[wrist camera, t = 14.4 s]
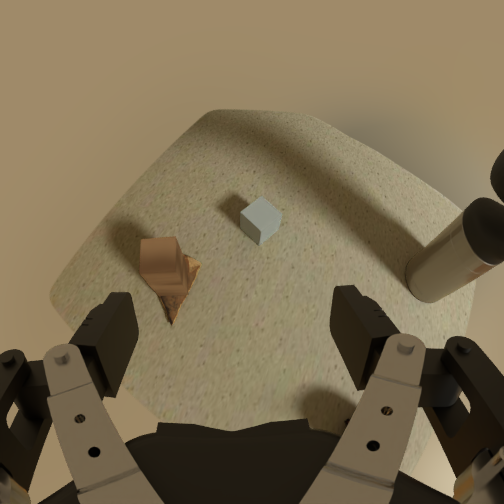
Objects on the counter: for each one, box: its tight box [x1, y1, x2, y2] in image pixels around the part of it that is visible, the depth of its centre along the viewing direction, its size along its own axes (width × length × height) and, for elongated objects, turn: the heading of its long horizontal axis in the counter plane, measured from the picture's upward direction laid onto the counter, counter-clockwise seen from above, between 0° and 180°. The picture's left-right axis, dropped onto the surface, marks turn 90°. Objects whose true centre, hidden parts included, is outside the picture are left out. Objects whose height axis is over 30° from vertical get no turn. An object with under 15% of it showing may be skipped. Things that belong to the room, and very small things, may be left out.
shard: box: [160, 255, 202, 326], centre depth 45 cm, size 11×8×2 cm
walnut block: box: [139, 236, 188, 296], centre depth 40 cm, size 4×4×10 cm
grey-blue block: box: [240, 196, 282, 246], centre depth 48 cm, size 4×4×5 cm
